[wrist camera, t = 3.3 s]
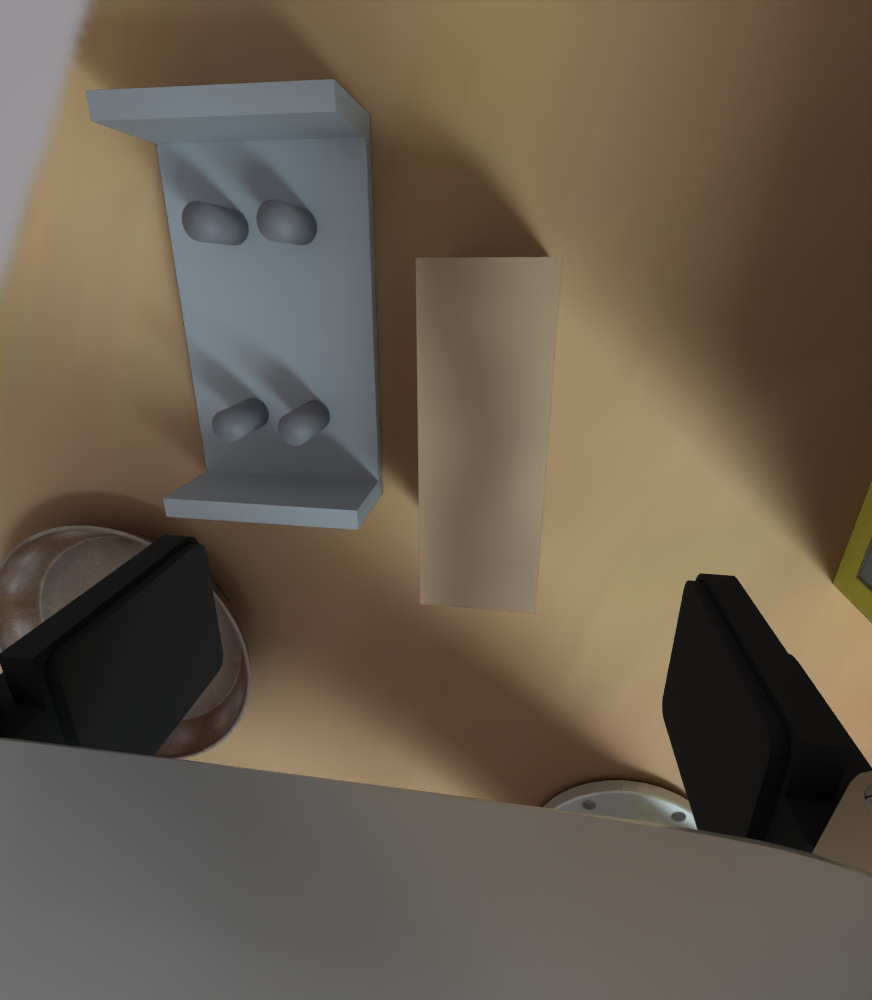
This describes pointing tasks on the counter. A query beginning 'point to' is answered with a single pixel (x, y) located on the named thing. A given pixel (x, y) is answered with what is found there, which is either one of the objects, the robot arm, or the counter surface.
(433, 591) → the brown wooden block
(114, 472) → the counter surface
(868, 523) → the toy building
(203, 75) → the counter surface
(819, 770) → the robot arm
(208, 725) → the plant saucer
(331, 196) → the peg frame
